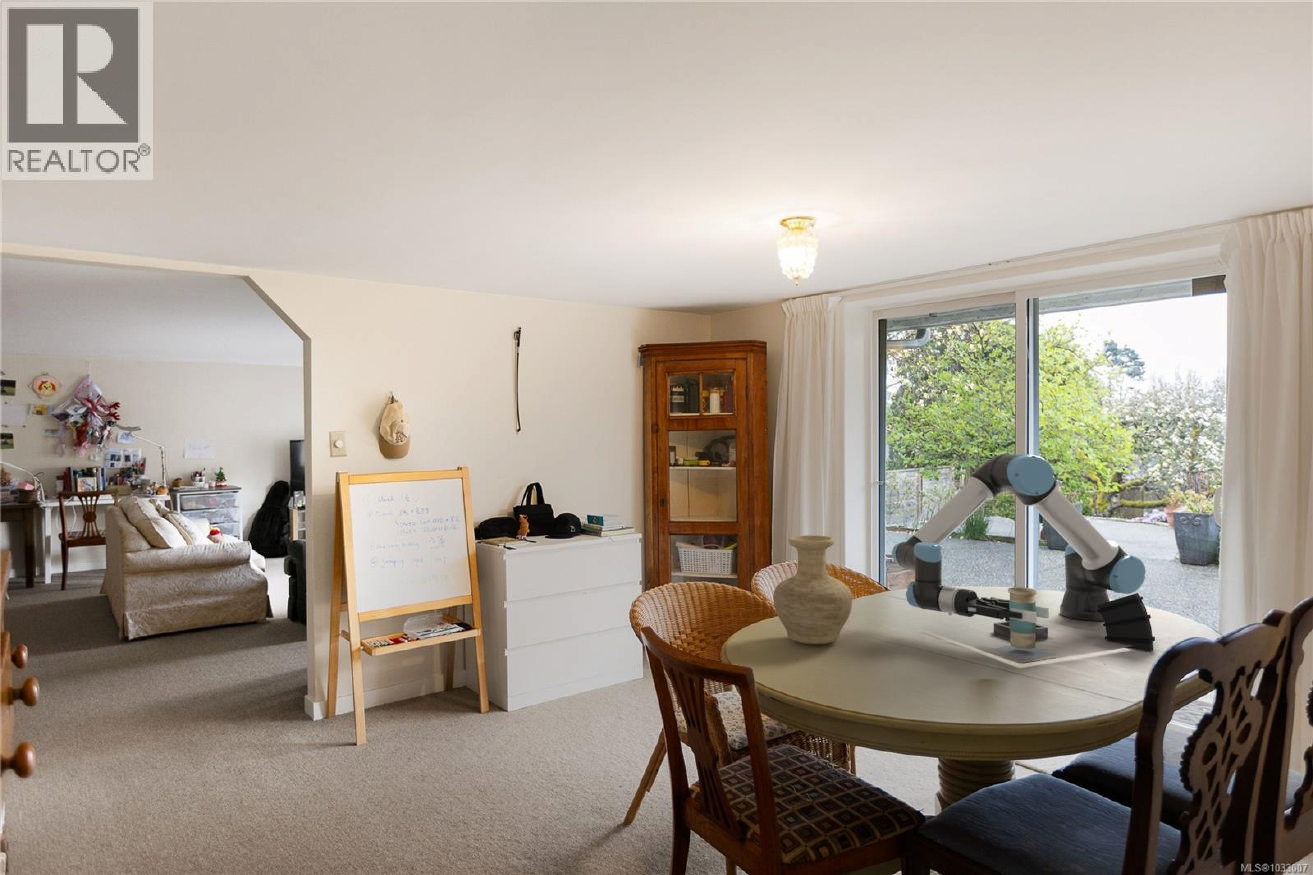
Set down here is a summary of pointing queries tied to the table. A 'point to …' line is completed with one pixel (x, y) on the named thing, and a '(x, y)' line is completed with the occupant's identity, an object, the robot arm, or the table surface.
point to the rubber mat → (1024, 652)
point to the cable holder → (1004, 631)
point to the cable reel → (1022, 630)
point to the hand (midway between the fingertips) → (1041, 615)
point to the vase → (812, 595)
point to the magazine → (1127, 622)
